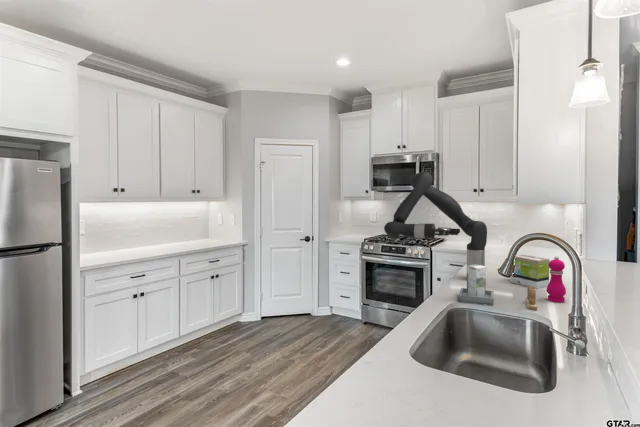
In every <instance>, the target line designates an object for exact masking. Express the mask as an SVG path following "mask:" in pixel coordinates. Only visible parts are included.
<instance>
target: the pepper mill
mask: <svg viewBox="0 0 640 427" xmlns="http://www.w3.org/2000/svg"><path fill="white" fill-rule="evenodd" d="M553 258H554V259H552V260H549V274H550V278H549V284H548V286H547V287H546V293H547V294H548V295H547V300H548V301H549V302H552V303H565V297H564V296H566V294H567V290H566V287H565V284H564V283H563V282H564V281H563V275H564V271H563V270H564V269H565V267H566V266H565V265H566V264H565V262H564V261H562V260H561V259H560V257H559V256H557V255H555V256H554V257H553Z"/></svg>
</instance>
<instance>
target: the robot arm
mask: <svg viewBox="0 0 640 427" xmlns="http://www.w3.org/2000/svg"><path fill="white" fill-rule="evenodd" d="M433 182H434V181H433V175H432V174H431V173H430V172H429V171H420V172H417V173H414V174H412V175H411V177H410V178H409V183H410V185H411V187H412V190H411V191H410V192H409V193H408V195H407V196H406V197H405V198H404V199H403V200H402V201H401V202H400V204H399V205H398V207H397V208H396V210H395V212H394V213H393V220H392V221H388V222H387V223H385V225H384V226H383V228H384V229H383V230H384V232H385V234H386V235H387V237H388V238H390V239H392V240H393V239H396V238H398V237H399V236H403V237H405V238H415V239H425V240H426V239H429V240H433V239H435V237H436V236H439V237H441V236H443V237H444V236H445V237H447V236H458V235H459V234H460V233H461V230H462V231H463V233H464V234H466V235H467V236H469V237H470V238H471V239H470V242H469V243H467V244H466V267H467V266H468V265H482V266H485V265H486V263H485V262H486V258H485V257H486V256H485V254H486V250H485V248H486V245H487V242H488V241H487V239H488V227H487V225H486V223H485V222H484V221H481V220H474V219H472V218H470V217H469V216H468V215H466V214H465V213H464V211H463V209H462V207H461V205H460V203H459V202H458V201H457V200H456V199H454V197H452V196H451V195H450V194H448V193H446V192H444V191H443V190H440V189H438V188H436V187H434V186H433V185H432V184H433ZM423 196H424V197H425V198H426V199H427V200H429V201H430V202H431V203H432V204H433V205H434V206H435V207H437V209H438V210H440V211H441V213H443V214H444V215H445V216H446V217H447V218H449V219H450V220H452V222H454V223H455V224H456V225H457V226H458V228H452V227H443V226H441V227H440V226H439V227H438V228H436V224H435V223H421V222H420V223H406V221H407V220H408V218H409V216H410V215H411V213H412V211H413V209H414V208H415V207H416V206H417V204H418V202H419V201H420V200H421V198H422V197H423ZM485 267H486V266H485Z"/></svg>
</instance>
